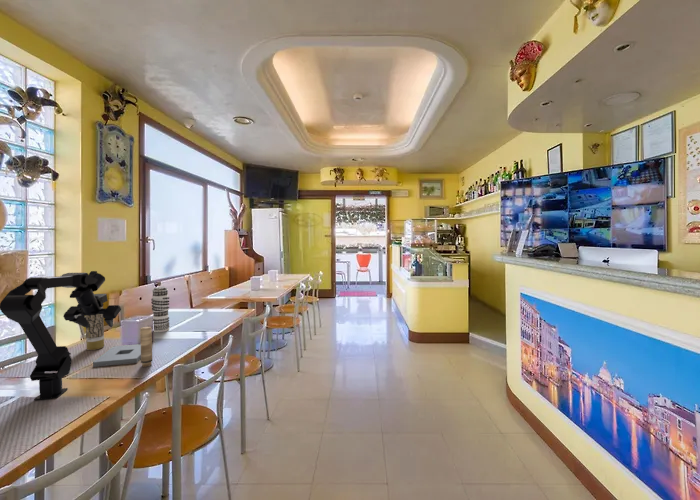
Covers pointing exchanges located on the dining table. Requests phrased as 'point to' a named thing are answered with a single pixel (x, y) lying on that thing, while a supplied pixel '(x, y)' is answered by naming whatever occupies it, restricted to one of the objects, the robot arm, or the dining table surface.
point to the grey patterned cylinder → (95, 331)
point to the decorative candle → (160, 309)
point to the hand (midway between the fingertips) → (100, 326)
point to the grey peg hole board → (120, 355)
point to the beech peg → (146, 346)
